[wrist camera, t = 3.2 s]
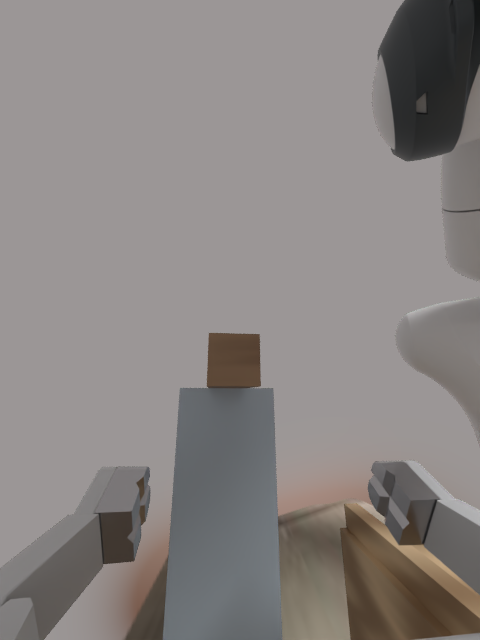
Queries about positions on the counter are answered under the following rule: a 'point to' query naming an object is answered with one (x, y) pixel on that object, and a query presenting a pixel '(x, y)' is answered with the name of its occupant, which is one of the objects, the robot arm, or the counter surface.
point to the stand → (224, 519)
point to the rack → (400, 586)
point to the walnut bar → (233, 360)
